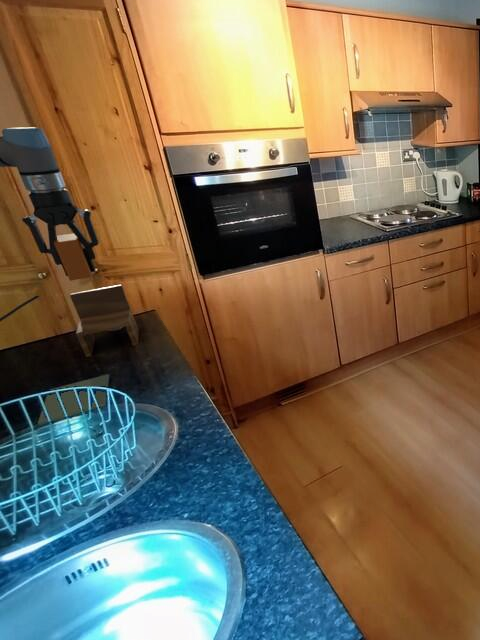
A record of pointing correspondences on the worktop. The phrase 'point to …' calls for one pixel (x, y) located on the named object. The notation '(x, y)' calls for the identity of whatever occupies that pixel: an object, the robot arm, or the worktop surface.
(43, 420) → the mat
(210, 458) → the worktop surface
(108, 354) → the worktop surface
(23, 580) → the worktop surface
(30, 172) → the robot arm
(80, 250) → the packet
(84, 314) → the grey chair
